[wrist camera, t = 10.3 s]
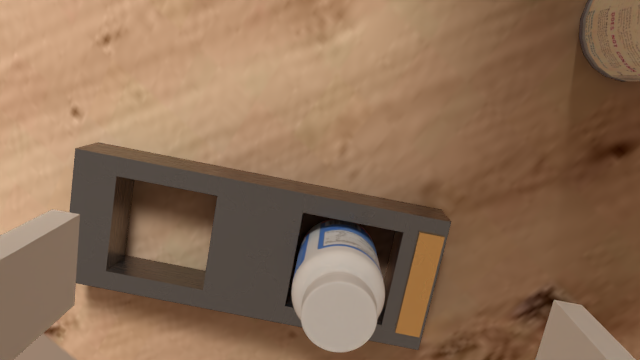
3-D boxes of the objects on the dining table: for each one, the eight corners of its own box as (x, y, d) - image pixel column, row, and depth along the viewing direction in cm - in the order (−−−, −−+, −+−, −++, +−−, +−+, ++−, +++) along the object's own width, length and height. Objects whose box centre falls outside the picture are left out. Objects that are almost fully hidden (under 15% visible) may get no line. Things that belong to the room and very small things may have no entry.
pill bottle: (331, 303, 36) (326, 385, 26) (284, 246, 35) (262, 310, 26) (392, 259, 35) (411, 328, 25) (346, 200, 34) (347, 249, 25)
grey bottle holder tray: (98, 142, 34) (73, 148, 31) (441, 209, 34) (451, 222, 31) (85, 264, 36) (61, 281, 33) (411, 327, 36) (418, 351, 33)
